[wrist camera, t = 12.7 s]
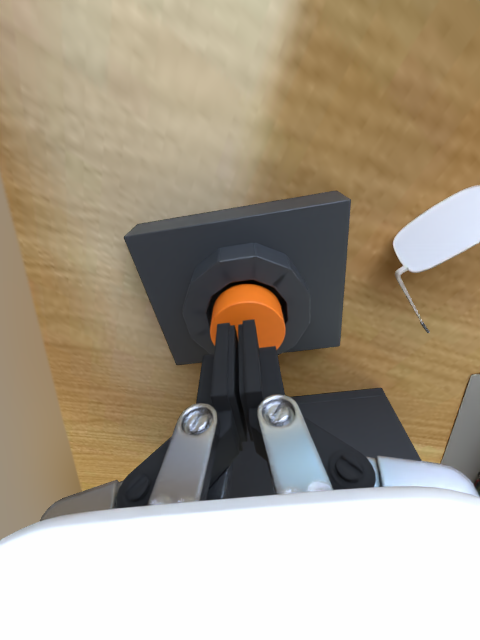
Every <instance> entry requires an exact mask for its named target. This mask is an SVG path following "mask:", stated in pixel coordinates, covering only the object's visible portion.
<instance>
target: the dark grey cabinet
mask: <svg viewBox="0 0 480 640" xmlns="http://www.w3.org/2000/svg"><path fill="white" fill-rule="evenodd" d="M290 398H292V399H293V400H294V401H295V402H296V403H297V405H298V406H299V409H300V411H301V413H302V416H303V417H305V418H307V419H308V420H310V421H311V422H313V423H315V424H316V425H318V426H319V427H321V428H323V429H324V430H326V431H327V432H329V433H330V434H332V435H334V436H335V437H337V438H338V439H340V440H342V441H343V442H345V443H346V444H348V445H350V446H351V447H353V448H354V449H356V450H358V451H359V452H361V453H362V454H363V455H364V456H366V457H371V458H377V455H378V456H385V457H393V458H401V459H408V460H416V461H421V459H420V457H419V455H418V453H417V452H416V450H415V448H414V446H413V444H412V443H411V441H410V439H409V437H408V435H407V433H406V432H405V430H404V428H403V426H402V424H401V422H400V421H399V419H398V417H397V415H396V413H395V411H394V410H393V408H392V406H391V404H390V402H389V401H388V399H387V397H386V395H385V393H384V391H383V389H382V388H374V389H365V390H355V391H345V392H335V393H325V394H316V395H306V396H296V397H290ZM242 447H243V451H239V455H238V456H237V457H236V458H235V459H234V460H233V471H232V478H231V485H230V491H229V498H228V499H231V498H243V497H254V496H266V495H275V494H274V490H273V486H272V482H271V478H270V473H269V469H268V465H267V461H266V460H264V459H263V458H262V457H261V456H260V455H258V454H257V453H256V450H255V446H254V442H253V441H251V440H250V436H249V431H248V427H247V442H242Z"/></svg>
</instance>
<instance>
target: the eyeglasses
mask: <svg viewBox="0 0 480 640" xmlns="http://www.w3.org/2000/svg"><path fill="white" fill-rule="evenodd" d="M478 243H480V185H478V186H473V187H470V188H467V189H464V190H462V191H460V192H458V193H456V194H454V195H452V196H450V197H449V198H447V199H445V200H443V201H442V202H440V203H438V204H437V205H435V206H433V207H432V208H430V209H429V210H427V211H426V212H424V213H423V214H421V215H420V216H418V217H417V218H416V219H414V220H413V221H412V222H410V223H409V224H408V225H406V226H405V227H404V228H403V229H402V230H401V231H400V232H399V233H398V234H397V235H396V237H395V238H394V241H393V247H394V250H395V253H396V255H397V257H398V259H399V260H400V262H401V264H402V265H403V267H401V268H400V269H398V270H397V271H396V272H395V277H396V279H397V281H398V283H399V285H400V286H401V288H402V290H403V292H404V293H405V295H406V297H407V299H408V300H409V302H410V304H411V306H412V307H413V309H414V311H415V313H416V315H417V316H418V318H419V320H420V323H421V325H422V326H423V328H424V329H425V330H426V332H427V333H430V332H429V330H428V329H427V327H426V326H425V324H424V322H423V321H422V320H421V318H420V316H419V314H418V312H417V310H416V308H415V306H414V304H413V302H412V300H411V298H410V296H409V294H408V292H407V290H406V288H405V286H404V283H403V281H402V279H401V278H400V275H401V274H402V273H404V272H405V271H407V270H409V271H410V272H413V273H419V272H423V271H426V270H428V269H431V268H433V267H435V266H437V265H439V264H441V263H443V262H445V261H447V260H449V259H451V258H453V257H454V256H456V255H458V254H460V253H462V252H464V251H465V250H467V249H469V248H471V247H473V246H474V245H476V244H478Z"/></svg>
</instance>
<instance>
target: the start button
mask: <svg viewBox="0 0 480 640" xmlns="http://www.w3.org/2000/svg"><path fill="white" fill-rule="evenodd" d="M251 319H255V325H256V331H257V338H258V344H259V348H263V347H271V346H276V350H277V349H278V348H279V347H280V345H281V344H282V342H283V340H284V337H285V332H286V328H285V323H284V318H283V314H282V310H281V305H280V302H279V301H278V299H277V297H276V296H275V295H274V294H273V293H272V292H271V291H270V290H268V289H266V288H265V287H262V286H260V285H256V284H239V285H235V286H232V287H230V288H228V289H227V290H225V291H224V292H223V293H221V294H220V295H219V297H218V298H217V299H216V301H215V303H214V306H213V312H212V318H211V325H210V336H211V340H212V342H213V344H214V346H215V342H216V331H217V324H222V323H230V325H235V328H236V333H237V338H238V325H239V324H242V321H244V320H251Z"/></svg>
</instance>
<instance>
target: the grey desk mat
mask: <svg viewBox="0 0 480 640" xmlns="http://www.w3.org/2000/svg"><path fill="white" fill-rule="evenodd" d="M441 464H444V465H448V466H451V467H454V468H455V469H457V470H459V471H460V472H462V473H463V474H464V475H465V476H466V477H467V478H469V479H470V480H471V482H472V483H473V485H474V487H475V488H476V490H477V492H478V495H479V497H480V374H475V375H471V378H470V381H469V383H468V386H467V389H466V392H465V395H464V398H463V401H462V404H461V407H460V410H459V413H458V416H457V419H456V421H455V424H454V427H453V430H452V433H451V436H450V439H449V442H448V445H447V448H446V451H445V454H444V457H443V459H442V462H441Z"/></svg>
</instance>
